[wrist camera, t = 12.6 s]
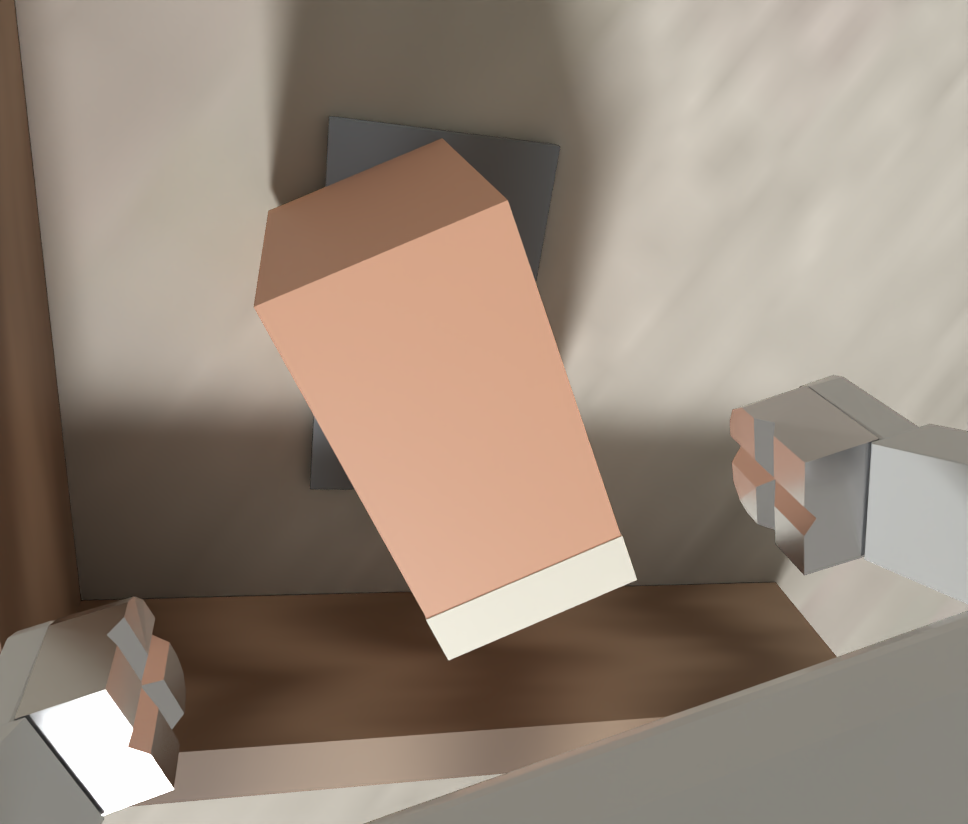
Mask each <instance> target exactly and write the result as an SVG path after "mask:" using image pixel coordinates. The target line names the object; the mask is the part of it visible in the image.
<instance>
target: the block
mask: <svg viewBox="0 0 968 824" xmlns="http://www.w3.org/2000/svg"><path fill="white" fill-rule="evenodd" d="M254 308H255V310H256V312H257V314H258V316H259V317H260V319H261V321H262V323H263V325H264V326H265V328H266V330H267V332H268V334H269V335H270V337H271V339H272V341H273V343H274V344H275V346H276V348H277V350H278V352H279V353H280V355H281V357H282V359H283V361H284V362H285V364H286V366H287V368H288V370H289V371H290V373H291V375H292V377H293V379H294V380H295V382H296V384H297V386H298V388H299V389H300V391H301V393H302V395H303V397H304V398H305V400H306V402H307V404H308V406H309V407H310V409H311V411H312V413H313V415H314V416H315V418H316V420H317V422H318V424H319V425H320V427H321V429H322V431H323V433H324V434H325V436H326V438H327V440H328V442H329V443H330V445H331V447H332V449H333V451H334V453H335V454H336V456H337V458H338V460H339V462H340V463H341V465H342V467H343V469H344V471H345V472H346V474H347V476H348V478H349V480H350V481H351V483H352V485H353V487H354V489H355V490H356V492H357V494H358V496H359V498H360V499H361V501H362V503H363V505H364V507H365V508H366V510H367V512H368V514H369V516H370V517H371V519H372V521H373V523H374V525H375V526H376V528H377V530H378V532H379V534H380V535H381V537H382V539H383V541H384V543H385V544H386V546H387V548H388V550H389V552H390V553H391V555H392V557H393V559H394V561H395V562H396V564H397V566H398V568H399V570H400V571H401V573H402V575H403V577H404V579H405V580H406V582H407V584H408V586H409V588H410V589H411V591H412V593H413V595H414V597H415V598H416V600H417V602H418V604H419V606H420V608H421V609H422V611H423V613H424V615H425V618H426V621H427V623H428V625H429V626H430V628H431V630H432V632H433V634H434V635H435V637H436V639H437V641H438V643H439V644H440V646H441V648H442V650H443V652H444V653H445V655H446V657H447V659H448V660H451V659H453V658H456V657H458V656H460V655H463V654H465V653H467V652H470V651H472V650H474V649H477V648H479V647H481V646H484V645H486V644H488V643H491V642H493V641H495V640H498V639H500V638H502V637H505V636H507V635H509V634H512V633H514V632H516V631H519V630H521V629H523V628H526V627H528V626H530V625H533V624H535V623H537V622H540V621H542V620H544V619H547V618H549V617H551V616H554V615H556V614H558V613H561V612H563V611H565V610H568V609H570V608H572V607H575V606H577V605H579V604H582V603H584V602H586V601H589V600H591V599H593V598H596V597H598V596H600V595H603V594H605V593H607V592H610V591H612V590H614V589H617V588H619V587H621V586H624V585H626V584H628V583H631V582H633V581H636V580H637V578H636V575H635V572H634V569H633V566H632V563H631V560H630V557H629V554H628V551H627V548H626V545H625V542H624V539H623V536H622V534H621V533H620V531H619V528H618V525H617V522H616V519H615V516H614V513H613V510H612V507H611V504H610V501H609V498H608V496H607V493H606V490H605V487H604V484H603V481H602V478H601V475H600V472H599V469H598V466H597V463H596V460H595V457H594V454H593V451H592V448H591V445H590V442H589V439H588V436H587V433H586V430H585V427H584V424H583V421H582V418H581V415H580V413H579V410H578V407H577V404H576V401H575V398H574V395H573V392H572V389H571V386H570V383H569V380H568V377H567V374H566V371H565V368H564V365H563V362H562V359H561V356H560V353H559V350H558V347H557V344H556V341H555V338H554V335H553V332H552V330H551V327H550V324H549V321H548V318H547V315H546V312H545V309H544V306H543V303H542V300H541V297H540V294H539V291H538V288H537V285H536V282H535V279H534V276H533V273H532V270H531V267H530V264H529V261H528V258H527V255H526V252H525V250H524V247H523V244H522V241H521V238H520V235H519V232H518V229H517V226H516V223H515V220H514V217H513V214H512V211H511V208H510V205H509V202H508V200H507V199H506V198H505V197H504V196H503V195H502V194H501V193H500V192H499V191H498V190H497V189H496V188H494V187H493V186H492V185H491V184H490V183H489V182H488V181H487V180H486V179H485V178H484V177H483V176H482V175H481V174H480V173H479V172H478V171H476V170H475V169H474V168H473V167H472V166H471V165H470V164H469V163H468V162H467V161H466V160H465V159H464V158H463V157H462V156H461V155H460V154H458V153H457V152H456V151H455V150H454V149H453V148H452V147H451V146H450V145H449V144H448V143H447V142H446V141H445V140H444V139H443V138H441V139H439V140H436V141H434V142H432V143H429V144H427V145H424V146H422V147H420V148H417V149H415V150H413V151H410V152H408V153H405V154H403V155H401V156H398V157H396V158H393V159H391V160H389V161H386V162H384V163H381V164H379V165H377V166H374V167H372V168H370V169H367V170H365V171H362V172H360V173H358V174H355V175H353V176H350V177H348V178H346V179H343V180H341V181H338V182H336V183H334V184H331V185H329V186H327V187H324V188H322V189H319V190H317V191H315V192H312V193H310V194H307V195H305V196H303V197H300V198H298V199H295V200H293V201H291V202H288V203H286V204H284V205H281V206H279V207H276V208H274V209H272V210H269V211H268V217H267V223H266V230H265V236H264V243H263V249H262V256H261V263H260V269H259V276H258V282H257V289H256V295H255V302H254Z"/></svg>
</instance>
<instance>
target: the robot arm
mask: <svg viewBox="0 0 968 824" xmlns="http://www.w3.org/2000/svg"><path fill="white" fill-rule="evenodd" d="M730 436H731V437H732V438H733V439H734V440H735V441H736V442H737V443H738V444H739V445H740V446H741V447H740V449H739V450H738V452H737V454H736V456H735V457H734V459H733V461H732V470H733V481H734V484H735V487H736V490H737V493H738V496H739V499H740V501H741V503H742V505H743V506H744V508H745V510H746V511H747V513H748V514H749V515H750V516H751V517H752V519H753V520H754V521H755V522H756V523H757V524H758V525H761V526H764V527H767V528H770V529H774V530H775V544H776V545H777V546H778V547H779V548H780V550H781V551H782V552H783V553H784V554H785V555H786V556H787V557H788V558H789V559H790V560H791V561H792V563H793V564H794V565H795V566H796V567H797V568H798V569H799V570H800V571H801V572H802V573H803V574H804V575H807V574H810V573H813V572H816V571H820V570H823V569H826V568H829V567H833V566H836V565H839V564H842V563H846V562H849V561H852V560H855V559H858V558H862V557H865V559H864V560H866V561H869V562H871V563H873V564H876V565H878V566H880V567H883V568H885V569H887V570H889V571H892V572H894V573H896V574H899V575H901V576H903V577H906V578H908V579H910V580H913V581H915V582H917V583H919V584H922V585H924V586H926V587H929V588H931V589H933V590H936V591H938V592H940V593H943V594H945V595H947V596H949V597H952V598H954V599H956V600H959V601H961V602H963V603H966V604H968V431H965V430H960V429H955V428H949V427H944V426H939V425H933V424H928V425H924V426H921V427H918V426H917V425H915V424H914V423H912V422H911V421H909V420H908V419H906V418H905V417H903V416H902V415H900V414H899V413H897V412H895V411H894V410H892V409H891V408H889V407H888V406H886V405H885V404H883V403H882V402H880V401H879V400H877V399H876V398H874V397H873V396H871V395H870V394H868V393H867V392H865V391H864V390H862V389H861V388H859V387H858V386H856V385H855V384H853V383H852V382H850V381H849V380H847V379H846V378H844V377H842V376H836V375H832V376H829V377H826V378H823V379H820V380H817V381H814V382H812V383H809V384H806V385H803V386H800V387H799V388H797V389H794V390H791V391H788V392H785V393H782V394H779V395H776V396H773V397H769V398H766V399H763V400H760V401H757V402H754V403H751V404H748V405H745V406H742V407H739V408H736V409H733V410H732V414H731V417H730ZM154 622H155V617H154V615H153V614H152V612H151V611H150V609H149V608H148V606H147V605H146V603H145V602H144V600H143V599H140V598H137V597H135V596H134V597H130V598H127V599H123V600H120V601H116V602H113V603H110V604H106V605H103V606H99V607H96V608H92V609H89V610H86V611H82V612H79V613H75V614H72V615H68V616H65V617H62V618H58V619H56V620H54V621H48V622H45V623H42V624H39V625H35V626H32V627H29V628H26V629H23V630H20V631H17V632H15V633H14V634H13V635H11V636H10V637H8V638H7V640H6V642H5V645H4V647H3V649H2V652H1V654H0V824H101V823H102V822H103V820H104V817H103V815H106V814H108V813H111V812H114V811H116V810H119V809H122V808H124V807H127V806H130V805H133V804H135V803H138V802H141V801H143V800H146V799H149V798H152V797H154V796H157V795H160V794H162V793H165V792H168V791H171V790H173V789H174V784H175V777H176V770H177V762H178V755H179V748H180V742H179V740H178V739H177V737H176V735H175V734H174V732H173V731H172V729H173V728H174V726H175V725H176V724H177V722H178V721H179V720H180V718H181V717H182V716H183V714H184V711H185V701H186V689H185V681H184V673H183V670H182V667H181V664H180V662H179V659H178V656H177V654H176V653H175V651H174V649H173V647H172V646H171V644H170V642H168V641H165V640H163V639H161V638H158V637H156V636H154V635H152V632H153V627H154ZM364 824H968V611H965V612H962V613H960V614H957V615H954V616H951V617H948V618H945V619H943V620H940V621H937V622H934V623H931V624H929V625H926V626H923V627H920V628H917V629H915V630H912V631H909V632H906V633H903V634H900V635H898V636H895V637H892V638H889V639H886V640H884V641H881V642H878V643H875V644H872V645H870V646H867V647H864V648H861V649H858V650H856V651H853V652H850V653H847V654H844V655H841V656H838V657H836V658H833V659H830V660H827V661H824V662H821V663H819V664H816V665H813V666H810V667H807V668H804V669H801V670H799V671H796V672H793V673H790V674H787V675H784V676H781V677H779V678H776V679H773V680H770V681H767V682H764V683H761V684H759V685H756V686H753V687H750V688H747V689H744V690H741V691H739V692H736V693H733V694H730V695H727V696H724V697H721V698H719V699H716V700H713V701H710V702H707V703H704V704H701V705H699V706H696V707H693V708H690V709H687V710H684V711H681V712H679V713H676V714H673V715H670V716H667V717H664V718H661V719H659V720H656V721H653V722H650V723H647V724H644V725H641V726H639V727H636V728H633V729H630V730H627V731H624V732H622V733H619V734H616V735H613V736H610V737H607V738H605V739H602V740H599V741H596V742H593V743H590V744H588V745H585V746H582V747H579V748H576V749H573V750H571V751H568V752H565V753H562V754H559V755H556V756H554V757H551V758H548V759H545V760H542V761H540V762H537V763H534V764H531V765H528V766H525V767H523V768H520V769H517V770H514V771H511V772H508V773H506V774H503V775H500V776H497V777H494V778H491V779H489V780H486V781H483V782H480V783H477V784H474V785H472V786H469V787H466V788H463V789H460V790H457V791H455V792H452V793H449V794H446V795H443V796H440V797H438V798H435V799H432V800H429V801H426V802H423V803H421V804H418V805H415V806H412V807H409V808H406V809H404V810H401V811H398V812H395V813H392V814H390V815H387V816H384V817H381V818H378V819H375V820H373V821H370V822H367V823H364Z"/></svg>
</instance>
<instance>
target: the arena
mask: <svg viewBox="0 0 968 824" xmlns="http://www.w3.org/2000/svg"><path fill="white" fill-rule="evenodd" d="M441 138H443V139H444V140H445V141H446V142H447V143H448V144H449V145H450V146H451V147H452V148H453V149H454V150H455V151H456V152H457V153H458V154H460V155H461V156H462V157H463V158H464V159H465V160H466V161H467V162H468V163H469V164H470V165H471V166H472V167H473V168H474V169H475V170H476V171H478V172H479V173H480V174H481V175H482V176H483V177H484V178H485V179H486V180H487V181H488V182H489V183H490V184H491V185H492V186H493V187H494V188H496V189H497V190H498V191H499V192H500V193H501V194H502V195H503V196H504V197H505V198H506V199H507V200H508V202H509V205H510V208H511V211H512V214H513V217H514V220H515V223H516V226H517V229H518V232H519V235H520V238H521V241H522V244H523V247H524V250H525V252H526V255H527V258H528V261H529V264H530V267H531V270H532V273H533V276H534V279H535V282H536V280H537V274H538V268H539V263H540V257H541V252H542V246H543V241H544V235H545V229H546V224H547V218H548V213H549V207H550V201H551V196H552V190H553V185H554V179H555V173H556V168H557V162H558V157H559V151H560V146H558V145H556V144H548V143H540V142H532V141H524V140H516V139H508V138H501V137H493V136H485V135H477V134H469V133H461V132H453V131H445V130H437V129H429V128H421V127H413V126H405V125H397V124H389V123H381V122H373V121H365V120H357V119H349V118H341V117H333V116H329V128H328V147H327V167H326V186H325V187H327V186H329V185H331V184H334V183H336V182H338V181H341V180H343V179H346V178H348V177H350V176H353V175H355V174H358V173H360V172H362V171H365V170H367V169H370V168H372V167H374V166H377V165H379V164H381V163H384V162H386V161H389V160H391V159H393V158H396V157H398V156H401V155H403V154H405V153H408V152H410V151H413V150H415V149H417V148H420V147H422V146H424V145H427V144H429V143H432V142H434V141H436V140H439V139H441ZM310 489H349V490H355V489H354V487H353V485H352V483H351V481H350V480H349V478H348V476H347V474H346V472H345V471H344V469H343V467H342V465H341V463H340V462H339V460H338V458H337V456H336V454H335V453H334V451H333V449H332V447H331V445H330V443H329V442H328V440H327V438H326V436H325V434H324V433H323V431H322V429H321V427H320V425H319V424H318V422H317V420H316V418H315V416H314V419H313V439H312V458H311V477H310ZM143 600H144V602H145V603H146V605H147V606H148V608H149V609H150V611H151V612H152V614H153V615H154V617H155V622H154V627H153V632H152V635H154V636H156V637H158V638H161V639H163V640H165V641H168V642H170V644H171V646H172V647H173V649H174V651H175V653H176V654H177V656H178V659H179V662H180V664H181V667H182V670H183V673H184V681H185V689H186V701H185V711H184V714H183V716H182V717H181V718H180V720H179V721H178V722H177V724H176V725H175V726H174V728H173V729H172V731H173V732H174V734H175V735H176V737H177V739H178V740H179V742H180V748H179V755H178V762H177V770H176V777H175V784H174V789H173V790H171V791H168V792H165V793H162V794H160V795H157V796H154V797H152V798H149V799H146V800H143V801H141V802H138V803H135V804H133V805H130V806H140V805H152V804H163V803H174V802H186V801H197V800H208V799H220V798H231V797H243V796H254V795H265V794H277V793H288V792H299V791H311V790H322V789H333V788H345V787H356V786H367V785H379V784H390V783H402V782H413V781H424V780H436V779H447V778H458V777H470V776H481V775H492V774H504V773H508V772H511V771H514V770H517V769H520V768H523V767H525V766H528V765H531V764H534V763H537V762H540V761H542V760H545V759H548V758H551V757H554V756H556V755H559V754H562V753H565V752H568V751H571V750H573V749H576V748H579V747H582V746H585V745H588V744H590V743H593V742H596V741H599V740H602V739H605V738H607V737H610V736H613V735H616V734H619V733H622V732H624V731H627V730H630V729H633V728H636V727H639V726H641V725H644V724H647V723H650V722H653V721H656V720H659V719H661V718H664V717H667V716H670V715H673V714H676V713H679V712H681V711H684V710H687V709H690V708H693V707H696V706H699V705H701V704H704V703H707V702H710V701H713V700H716V699H719V698H721V697H724V696H727V695H730V694H733V693H736V692H739V691H741V690H744V689H747V688H750V687H753V686H756V685H759V684H761V683H764V682H767V681H770V680H773V679H776V678H779V677H781V676H784V675H787V674H790V673H793V672H796V671H799V670H801V669H804V668H807V667H810V666H813V665H816V664H819V663H821V662H824V661H827V660H830V659H833V658H836V655H835V654H834V653H833V652H832V651H831V649H830V648H829V647H828V646H827V644H826V643H825V642H824V641H823V640H822V638H821V637H820V636H819V635H818V633H817V632H816V631H815V630H814V629H813V627H812V626H811V625H810V624H809V622H808V621H807V620H806V619H805V618H804V616H803V615H802V614H801V613H800V611H799V610H798V609H797V608H796V607H795V605H794V604H793V603H792V602H791V601H790V599H789V598H788V597H787V596H786V594H785V593H784V592H783V591H782V590H781V588H780V587H779V586H778V585H777V583H776V582H775V583H737V584H699V585H661V586H623V587H619V588H617V589H614V590H612V591H610V592H607V593H605V594H603V595H600V596H598V597H596V598H593V599H591V600H589V601H586V602H584V603H582V604H579V605H577V606H575V607H572V608H570V609H568V610H565V611H563V612H561V613H558V614H556V615H554V616H551V617H549V618H547V619H544V620H542V621H540V622H537V623H535V624H533V625H530V626H528V627H526V628H523V629H521V630H519V631H516V632H514V633H512V634H509V635H507V636H505V637H502V638H500V639H498V640H495V641H493V642H491V643H488V644H486V645H484V646H481V647H479V648H477V649H474V650H472V651H470V652H467V653H465V654H463V655H460V656H458V657H456V658H453V659H451V660H448V659H447V657H446V655H445V653H444V652H443V650H442V648H441V646H440V644H439V643H438V641H437V639H436V637H435V635H434V634H433V632H432V630H431V628H430V626H429V625H428V623H427V621H426V618H425V615H424V613H423V611H422V609H421V608H420V606H419V604H418V602H417V600H416V598H415V597H414V595H413V593H412V592H394V593H356V594H318V595H280V596H242V597H204V598H166V599H143ZM116 601H120V600H90V601H81V597H80V588H79V579H78V570H77V561H76V552H75V543H74V534H73V525H72V516H71V507H70V498H69V489H68V480H67V471H66V462H65V453H64V444H63V435H62V426H61V417H60V408H59V399H58V390H57V381H56V372H55V363H54V354H53V345H52V336H51V327H50V318H49V309H48V300H47V291H46V282H45V273H44V264H43V255H42V246H41V237H40V228H39V219H38V210H37V201H36V192H35V183H34V174H33V165H32V156H31V147H30V138H29V129H28V120H27V111H26V102H25V93H24V84H23V75H22V66H21V57H20V48H19V39H18V30H17V21H16V12H15V3H14V0H0V654H1V652H2V649H3V647H4V645H5V642H6V640H7V638H8V637H10V636H11V635H13V634H14V633H15V632H17V631H20V630H23V629H26V628H29V627H32V626H35V625H39V624H42V623H45V622H48V621H54V620H56V619H58V618H62V617H65V616H68V615H72V614H75V613H79V612H82V611H86V610H89V609H92V608H96V607H99V606H103V605H106V604H110V603H113V602H116ZM127 807H129V806H127Z"/></svg>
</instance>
